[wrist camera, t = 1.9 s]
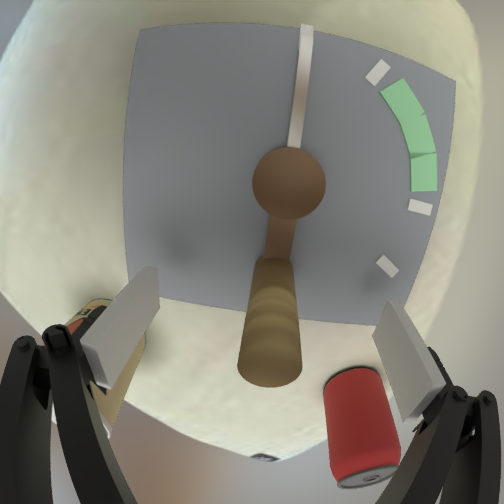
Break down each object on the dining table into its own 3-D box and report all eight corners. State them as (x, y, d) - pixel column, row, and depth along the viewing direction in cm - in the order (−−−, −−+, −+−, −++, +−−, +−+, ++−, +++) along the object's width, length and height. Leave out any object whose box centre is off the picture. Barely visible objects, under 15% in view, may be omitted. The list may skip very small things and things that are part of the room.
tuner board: (152, 34, 14) (139, 25, 12) (441, 80, 13) (457, 77, 11) (139, 278, 22) (128, 292, 20) (387, 313, 21) (395, 328, 19)
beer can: (341, 407, 27) (352, 493, 17) (310, 385, 26) (316, 486, 15) (388, 381, 25) (414, 469, 14) (363, 355, 24) (391, 461, 13)
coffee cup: (153, 307, 23) (91, 410, 12) (154, 370, 27) (116, 457, 16) (74, 280, 23) (1, 353, 12) (86, 344, 27) (38, 414, 16)
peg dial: (272, 35, 12) (267, -46, 4) (339, 47, 12) (390, -20, 4) (241, 282, 19) (219, 380, 11) (299, 290, 18) (309, 390, 11)
